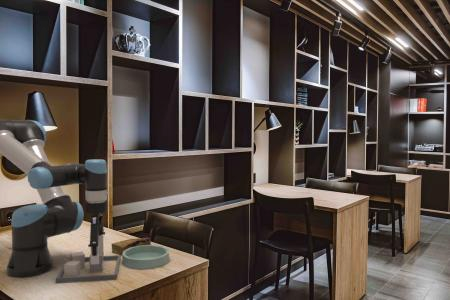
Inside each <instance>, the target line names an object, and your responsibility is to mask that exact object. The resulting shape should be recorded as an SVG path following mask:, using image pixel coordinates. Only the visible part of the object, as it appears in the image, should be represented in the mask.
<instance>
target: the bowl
mask: <svg viewBox="0 0 450 300" xmlns="http://www.w3.org/2000/svg"><path fill="white" fill-rule="evenodd" d="M169 251H170V250H169V249H168V248H166V247H165V246H162V245H156V244H151V245H140V246H136V247H131V248H128V249H126V250H125V251H123V255H121V261H122V262H121V263H122V265H123V266H125V267H126V268H130V269H135V270H148V269H150V270H151V269H155V268H159V267H162V266H163V267H164V265H166V264H168V263H169V262H170V252H169Z"/></svg>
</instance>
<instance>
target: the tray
mask: <svg viewBox="0 0 450 300" xmlns="http://www.w3.org/2000/svg"><path fill="white" fill-rule="evenodd" d="M69 261H71V260H70V257H68V258H67V259H66V261H65V262H64V264H63V266H62V268H61V269H60V271H59V272H58V274H57V276H56V277H55V283H56V284H62V283H63V284H64V283H80V282H81V283H82V282H94V281H95V282H96V281H97V282H99V281H112V280H114V281H115V280H117V279H118V274H119V269H120V265H121V261H122V255H118V254H114V255H113V254H112V255H104V262H105V261H116V263H115V268H114V272H113V273H107V274H92V275H91V274H90V275H80V276H72V277H64V265H65V264H66V263H68V262H69ZM86 262H88V263H89V262H90V256H85V263H86Z"/></svg>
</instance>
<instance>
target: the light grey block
mask: <svg viewBox="0 0 450 300" xmlns="http://www.w3.org/2000/svg"><path fill="white" fill-rule="evenodd" d="M64 264H65V263H64ZM64 264H63V266H64V275H63V277H72V276H82V274H81V269H82V268H80V261H69V262H68V263H66V264H65V265H64Z"/></svg>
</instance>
